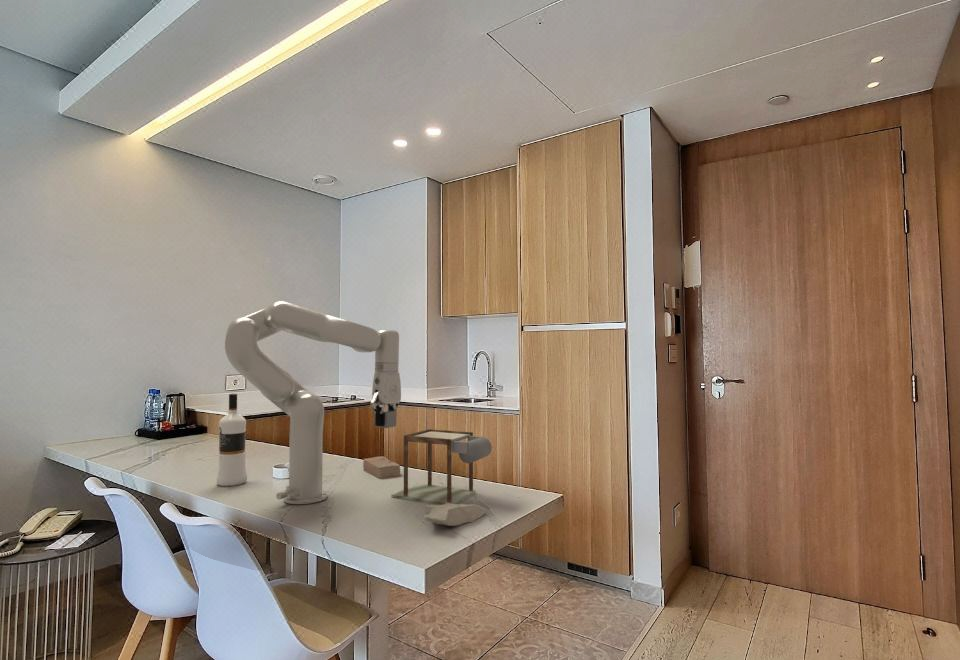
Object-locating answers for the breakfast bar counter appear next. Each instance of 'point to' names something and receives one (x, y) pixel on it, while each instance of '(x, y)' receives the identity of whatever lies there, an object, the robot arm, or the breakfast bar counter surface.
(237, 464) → the vodka
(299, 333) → the robot arm
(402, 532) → the breakfast bar counter surface
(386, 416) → the stone block
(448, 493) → the trapdoor frame
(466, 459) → the trapdoor
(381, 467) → the brick
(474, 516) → the rock
